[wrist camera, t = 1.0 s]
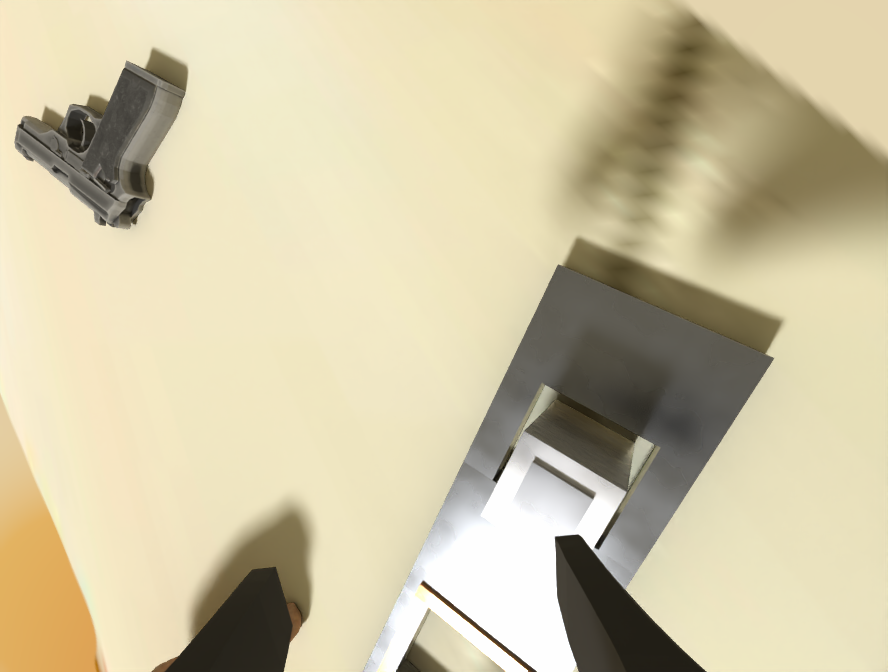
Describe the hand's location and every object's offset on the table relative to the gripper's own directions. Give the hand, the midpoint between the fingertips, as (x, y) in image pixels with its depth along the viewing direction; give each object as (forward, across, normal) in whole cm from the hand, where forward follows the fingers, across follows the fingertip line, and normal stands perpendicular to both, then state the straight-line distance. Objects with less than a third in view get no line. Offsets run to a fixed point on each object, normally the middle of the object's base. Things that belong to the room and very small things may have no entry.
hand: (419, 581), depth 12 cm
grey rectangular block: (+10, -7, +4) cm, 13 cm away
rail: (+10, -4, +10) cm, 14 cm away
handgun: (+32, +24, -16) cm, 44 cm away
